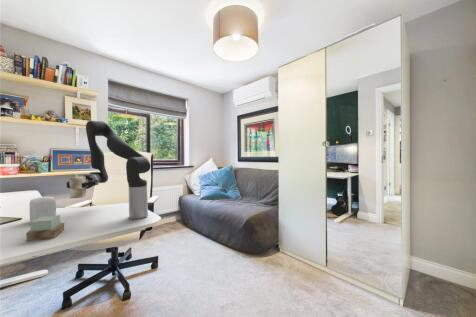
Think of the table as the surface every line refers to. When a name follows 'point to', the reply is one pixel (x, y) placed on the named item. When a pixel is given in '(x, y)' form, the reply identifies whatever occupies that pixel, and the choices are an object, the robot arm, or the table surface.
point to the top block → (45, 223)
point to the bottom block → (45, 233)
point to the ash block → (77, 187)
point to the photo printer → (42, 207)
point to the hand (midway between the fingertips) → (75, 185)
